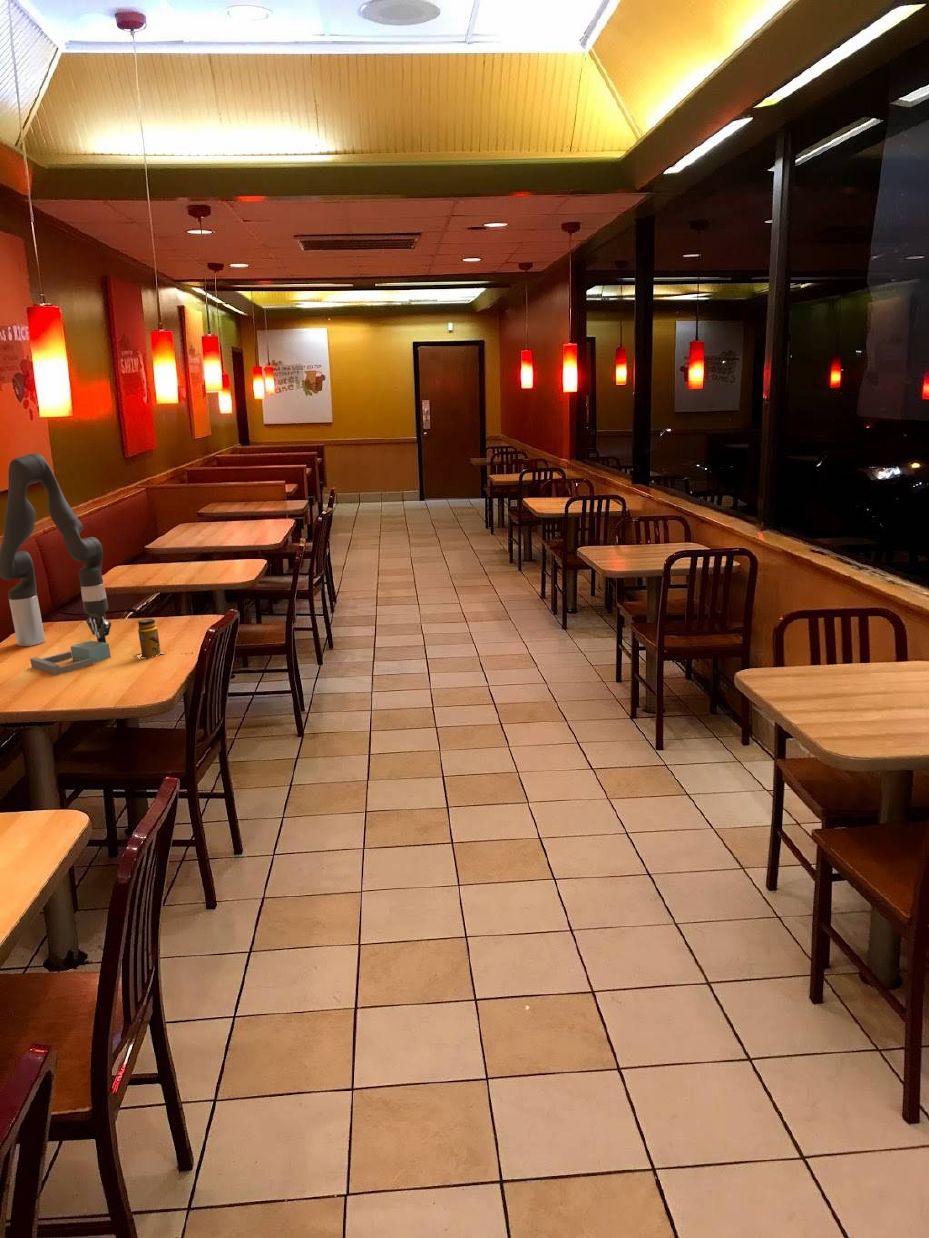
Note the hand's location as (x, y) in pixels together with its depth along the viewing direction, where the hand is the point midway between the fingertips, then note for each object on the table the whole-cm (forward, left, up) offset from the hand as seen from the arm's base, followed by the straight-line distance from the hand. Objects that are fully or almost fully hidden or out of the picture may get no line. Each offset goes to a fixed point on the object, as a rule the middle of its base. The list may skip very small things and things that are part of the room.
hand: (102, 647), depth 313 cm
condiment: (+15, +8, -3) cm, 17 cm away
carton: (+1, -5, -3) cm, 6 cm away
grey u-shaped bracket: (0, -14, -2) cm, 15 cm away
